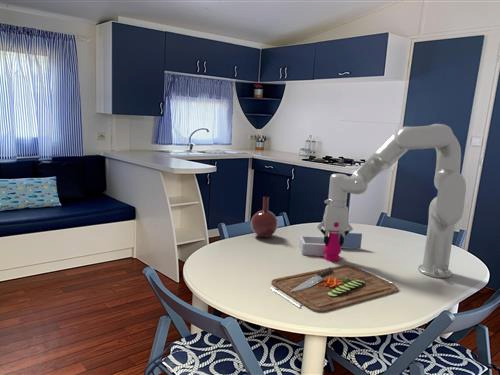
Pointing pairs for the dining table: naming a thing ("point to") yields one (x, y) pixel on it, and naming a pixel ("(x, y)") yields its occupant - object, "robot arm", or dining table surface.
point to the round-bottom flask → (264, 221)
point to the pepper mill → (333, 246)
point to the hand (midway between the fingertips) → (333, 244)
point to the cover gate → (352, 240)
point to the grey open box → (312, 245)
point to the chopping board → (333, 287)
